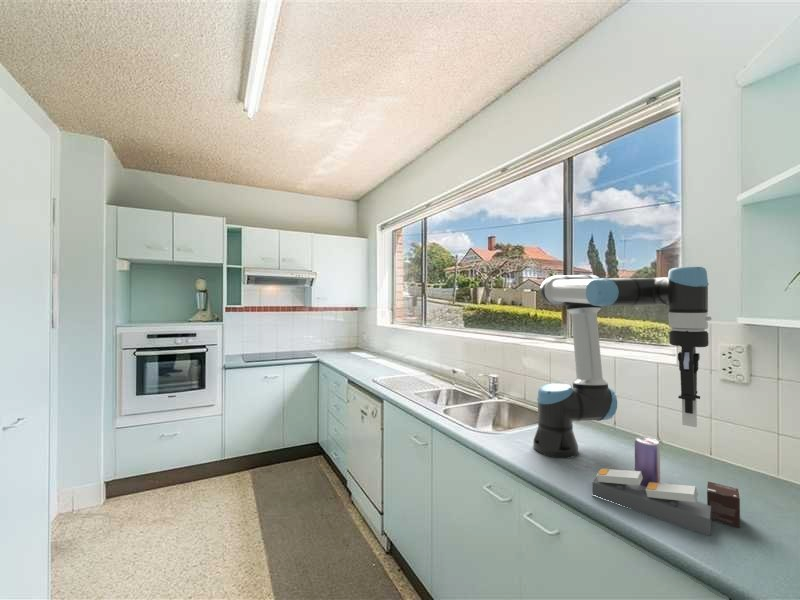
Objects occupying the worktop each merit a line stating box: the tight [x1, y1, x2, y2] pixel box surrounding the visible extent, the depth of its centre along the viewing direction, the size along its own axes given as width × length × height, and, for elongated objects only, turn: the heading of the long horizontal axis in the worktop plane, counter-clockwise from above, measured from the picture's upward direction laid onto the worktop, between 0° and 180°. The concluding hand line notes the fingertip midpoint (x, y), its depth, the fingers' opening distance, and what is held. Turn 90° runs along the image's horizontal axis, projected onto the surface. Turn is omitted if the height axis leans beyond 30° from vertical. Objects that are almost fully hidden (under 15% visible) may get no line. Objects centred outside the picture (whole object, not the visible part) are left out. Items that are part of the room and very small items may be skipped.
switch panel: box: [591, 476, 712, 537], centre depth 95 cm, size 25×7×5 cm, turn 47°
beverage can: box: [634, 436, 661, 487], centre depth 102 cm, size 6×6×15 cm
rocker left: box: [596, 468, 643, 485], centre depth 99 cm, size 10×5×2 cm, turn 46°
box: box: [706, 481, 741, 529], centre depth 90 cm, size 6×6×7 cm
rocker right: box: [646, 482, 699, 502], centre depth 91 cm, size 10×5×2 cm, turn 46°
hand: (689, 425), depth 88 cm, fingers closed
